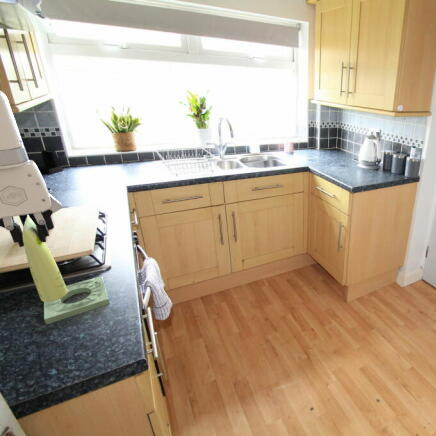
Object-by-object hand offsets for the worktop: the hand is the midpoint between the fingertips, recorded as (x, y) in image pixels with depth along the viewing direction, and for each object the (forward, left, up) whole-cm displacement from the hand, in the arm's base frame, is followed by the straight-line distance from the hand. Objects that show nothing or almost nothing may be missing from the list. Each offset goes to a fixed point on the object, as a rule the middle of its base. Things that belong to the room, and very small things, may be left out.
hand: (33, 241), depth 68 cm
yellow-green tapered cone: (0, 0, -15) cm, 15 cm away
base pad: (+2, +15, -28) cm, 32 cm away
